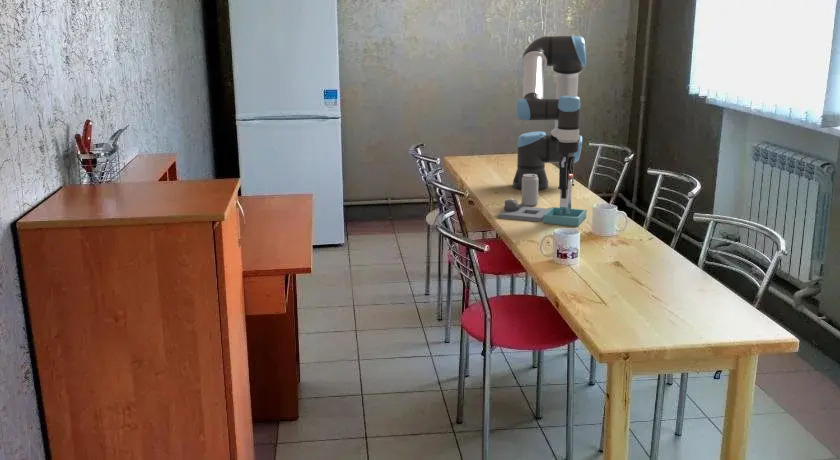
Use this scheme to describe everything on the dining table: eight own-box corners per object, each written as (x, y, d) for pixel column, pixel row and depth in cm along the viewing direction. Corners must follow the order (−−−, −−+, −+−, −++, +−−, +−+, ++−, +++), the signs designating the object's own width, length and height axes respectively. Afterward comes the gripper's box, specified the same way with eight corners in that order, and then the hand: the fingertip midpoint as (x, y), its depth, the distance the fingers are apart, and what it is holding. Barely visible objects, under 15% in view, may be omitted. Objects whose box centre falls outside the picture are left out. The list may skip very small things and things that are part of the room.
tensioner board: (509, 209, 302) (510, 194, 300) (551, 212, 296) (551, 197, 294) (498, 217, 290) (498, 202, 288) (541, 221, 283) (541, 206, 282)
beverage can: (537, 207, 304) (538, 176, 301) (520, 206, 305) (521, 176, 302) (538, 203, 310) (539, 173, 307) (521, 202, 311) (522, 173, 308)
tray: (552, 214, 293) (552, 206, 292) (586, 217, 288) (586, 209, 287) (543, 223, 282) (543, 214, 281) (578, 226, 277) (578, 218, 276)
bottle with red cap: (560, 210, 287) (561, 172, 283) (573, 211, 285) (574, 173, 281) (557, 213, 283) (558, 174, 279) (570, 214, 281) (571, 175, 277)
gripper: (563, 136, 286) (561, 199, 292) (551, 143, 271) (549, 209, 277) (583, 137, 283) (581, 201, 289) (572, 144, 268) (570, 211, 274)
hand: (565, 205), depth 283 cm, fingers closed on bottle with red cap, 4 cm apart
